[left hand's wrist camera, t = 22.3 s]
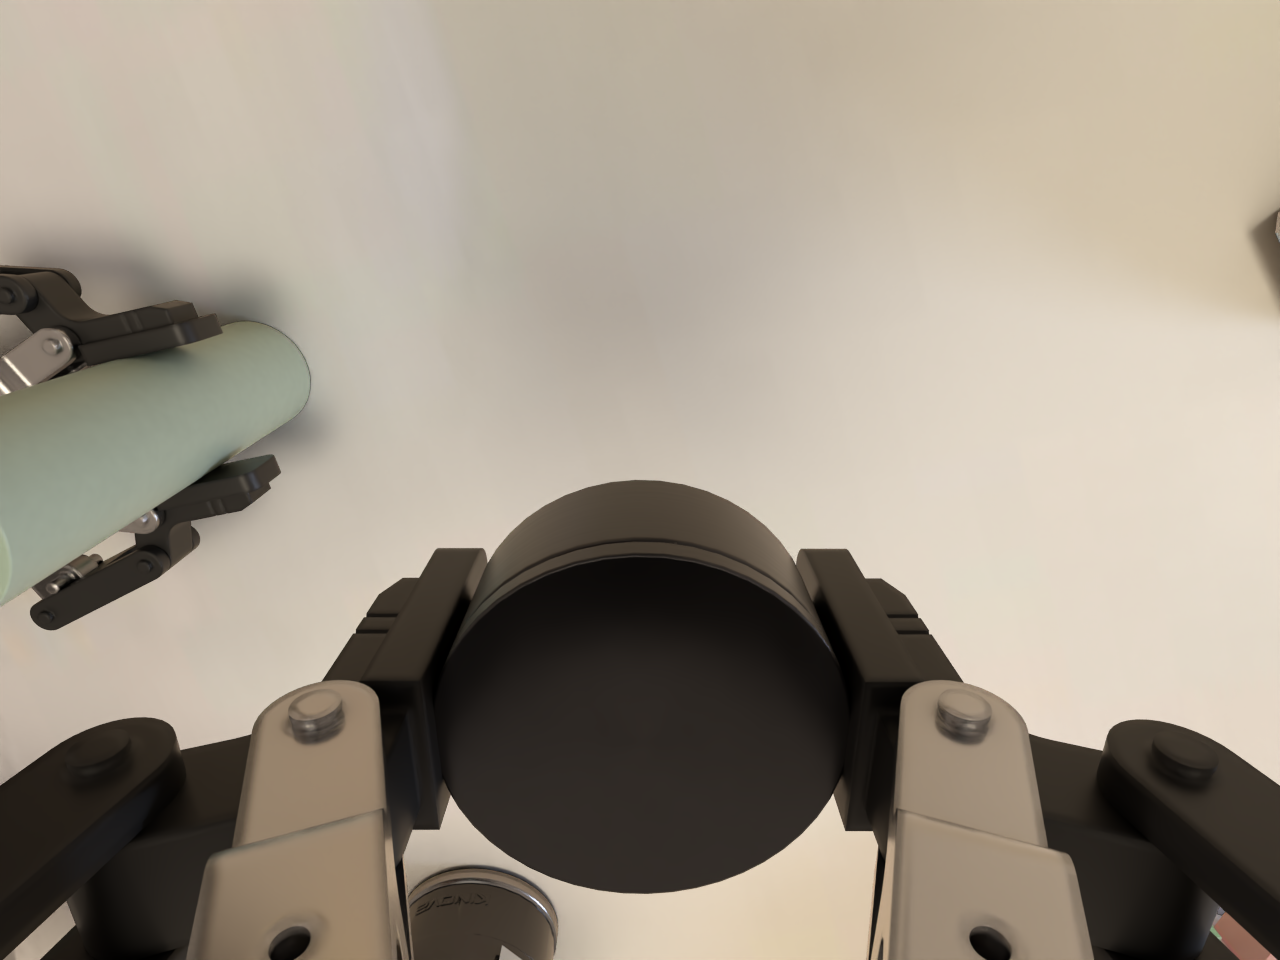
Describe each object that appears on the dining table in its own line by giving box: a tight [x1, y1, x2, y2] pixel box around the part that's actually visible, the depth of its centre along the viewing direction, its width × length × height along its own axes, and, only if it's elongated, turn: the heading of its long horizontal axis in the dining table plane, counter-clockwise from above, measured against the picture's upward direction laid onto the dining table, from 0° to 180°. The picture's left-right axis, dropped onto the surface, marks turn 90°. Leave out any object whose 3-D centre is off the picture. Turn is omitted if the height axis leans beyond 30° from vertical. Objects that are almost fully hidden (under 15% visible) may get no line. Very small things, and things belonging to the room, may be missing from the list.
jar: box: [0, 321, 310, 607], centre depth 23 cm, size 5×5×18 cm
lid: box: [433, 480, 851, 894], centre depth 10 cm, size 5×5×2 cm
